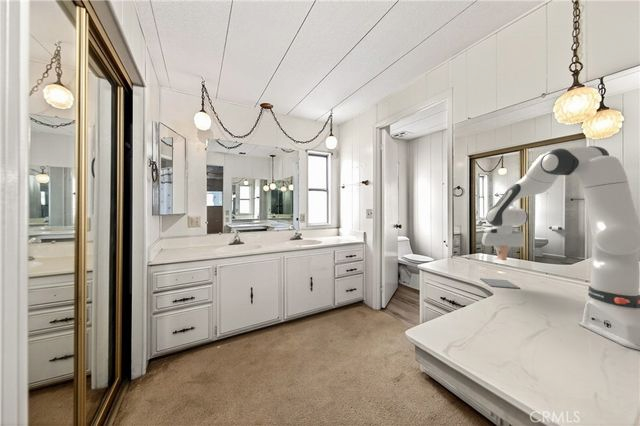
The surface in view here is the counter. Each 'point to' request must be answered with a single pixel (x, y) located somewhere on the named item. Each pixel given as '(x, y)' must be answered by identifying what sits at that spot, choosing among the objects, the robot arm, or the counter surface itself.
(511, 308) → the counter surface
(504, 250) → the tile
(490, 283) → the mat
